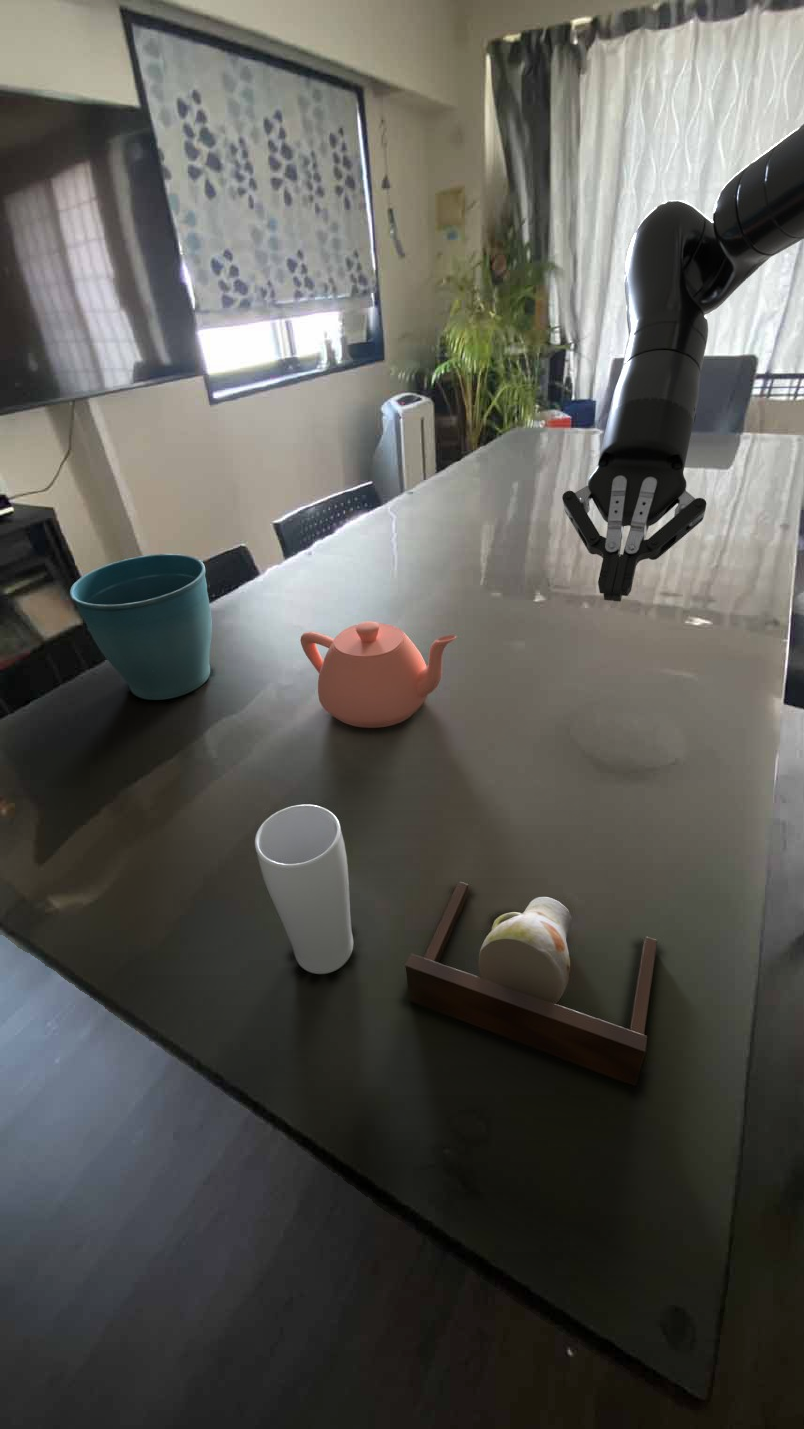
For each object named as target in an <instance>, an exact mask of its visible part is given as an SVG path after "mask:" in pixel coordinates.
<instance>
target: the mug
mask: <svg viewBox="0 0 804 1429" xmlns="http://www.w3.org/2000/svg"><path fill="white" fill-rule="evenodd" d="M571 927H572V917H571V913H570V911H569V909H568V908H567V907H566V906H565V905H564V904H562V903H561V902H560V901H559V900H557V899H554V898H552V897H548V896H538V897H535V898H534V899H532V900H531V901H530V902H529V904H528V905H527V907H526V908H525V910H524V911H523V912H516V911H512V912H506V913H504V914H500V915H499V916H498V917H497V918H496V919H494V921H493V923H492V926H491V930H490V932H489V933H487V934H488V935H486V937H485V938H484V940H483V943H482V945H481V947H480V950H479V954H478V972H479V975H480V978H483V979H486V980H488V981H491V982H494V983H497V984H500V985H503V986H505V987H508V988H511V989H514V990H517V991H520V992H523V993H525V994H528V995H531V996H534V997H537V998H540V999H543V1000H545V1001H548V1002H551V1003H554V1004H558V1002H560V1000H561V998H562V996H563V994H564V993H565V991H566V989H567V987H568V984H569V980H570V974H571V958H570V952H569V948H568V943H567V936H568V934H569V932H570V929H571Z"/></svg>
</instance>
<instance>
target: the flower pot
mask: <svg viewBox="0 0 804 1429" xmlns="http://www.w3.org/2000/svg"><path fill="white" fill-rule="evenodd" d="M206 572H207V571H206V567H205V564H204V563H203V561H202V560H200V559H199V558H197V557H195V556H191V555H186V554H179V553H159V554H147V555H142V556H135V557H131V558H125V559H122V560H118V561H114V562H111V563H109V564H106V565H103V566H101V567H98V568H95V569H94V570H91V571H89V572H88V573H86V574H84V575H83V576H81V577H80V578H79V579H76V581H75V582H74V583H73V584H72V586H70V587H71V588H70V590H69V596H70V599H71V600H72V601H73V603H74V604H75V605H76V607H77V609H78V611H79V614H80V615H81V617H82V618H83V620H84V622H85V625H86V626H87V629H88V631H89V633H90V635H91V637H92V638H93V641H94V643H95V644H96V646H97V647H98V649H99V650H100V652H101V653H102V655H103V656H104V657H105V659H106V660H107V661H108V662H109V663H110V664H111V666H112V667H113V668H114V669H115V670H116V671H117V672H118V674H120V676H121V677H122V678H123V680H124V681H125V682H126V683H127V685H128V686H129V690H130V692H131V693H132V694H133V695H134V696H136V697H137V698H140V699H143V700H149V701H161V700H170V699H174V698H178V697H181V696H184V695H186V694H189V693H192V692H193V691H195V690H197V689H198V688H200V687H201V686H202V685H204V684H205V682H207V680H208V679H209V677H210V675H211V667H210V652H211V642H212V633H213V632H212V631H213V622H212V611H211V604H210V598H209V593H208V584H207V579H206Z"/></svg>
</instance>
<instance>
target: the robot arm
mask: <svg viewBox="0 0 804 1429" xmlns="http://www.w3.org/2000/svg"><path fill="white" fill-rule="evenodd" d="M712 213H713V214H712V219H710V218H709V217H708V216H706V215H705V214H703V213H702V212H701V211H700V210H699V209H697V208H696V207H695V206H693V205H692V204H691V203H689V202H686V201H684V200H680V199H679V200H678V199H674V200H673V199H672V200H669V201H665V202H662V203H661V204H660V205H658V206H656V207H654V209H652V210H651V211H650V212H649V213H648V214H647V215H646V216H645V217H644V219H643V220H642V221H641V223H640V225H639V226H638V228H637V229H636V231H635V233H634V234H633V237H632V239H631V242H630V245H629V248H628V251H627V255H626V260H625V268H624V293H625V294H624V295H625V309H626V323H627V331H628V339H627V343H626V348H625V351H624V356H623V361H622V365H621V370H620V374H619V377H618V380H617V383H616V385H615V388H614V391H613V395H612V399H611V403H610V407H609V412H608V416H607V421H606V426H605V430H604V435H603V439H602V442H601V443H602V444H601V449H600V453H599V458H598V462H597V465H596V468H595V470H594V471H593V473H592V474H591V475H590V476H589V478H588V481H587V485H585V486H584V487H582V488H580V489H578V490H576V491H573V490H566V491H564V493H563V494H562V498H561V499H562V503H563V508H564V513H565V514H566V516H567V518H568V520H569V521H570V523H571V525H572V526H573V528H574V530H575V531H576V533H577V534H578V536H579V538H580V540H581V541H582V543H583V545H584V547H585V548H586V550H587V552H588V553H589V554H590V555H597V556H599V557H601V558H602V562H601V566H600V571H599V576H598V581H597V584H598V585H597V586H598V590H599V594H603V600H604V601H610V602H622V598H623V597H629V595H630V593H631V592H632V587H633V583H634V578H635V574H636V568H637V565H638V564H639V562H641V561H643V560H650V561H656V560H658V559H659V558H660V557H661V556H663V555H664V554H665V553H666V552H667V551H668V550H670V549H671V548H672V547H674V546H675V544H677V543H678V542H679V541H680V540H682V539H683V538H685V536H686V535H687V534H689V533H690V532H691V531H692V530H693V529H694V528H695V527H696V526H698V525H699V524H700V523H702V521H703V520H704V518H705V514H706V509H707V501H706V499H705V498H703V497H696V498H695V497H694V496H693V495H691V494H690V493H689V492H688V491H687V480H686V478H685V475H684V471H685V470H684V469H685V466H686V461H687V456H688V452H689V446H690V441H691V436H692V432H693V428H694V424H695V421H696V418H697V415H696V411H697V407H698V402H699V394H700V378H701V373H702V368H703V363H704V358H705V354H706V349H707V343H708V337H709V323H708V319H707V316H706V315H707V314H710V313H712V312H713V311H715V310H716V309H718V308H719V307H720V306H722V305H723V304H724V303H725V302H726V300H728V299H729V297H730V296H731V295H733V293H734V292H735V291H736V290H737V289H739V287H740V286H741V285H742V284H743V283H745V281H747V279H749V278H750V277H751V276H752V275H753V274H755V273H756V272H757V271H758V269H760V268H761V267H762V266H763V265H764V264H765V263H766V262H767V261H768V260H770V259H771V258H772V257H774V256H776V255H779V254H780V253H781V252H783V251H785V250H787V249H788V248H790V247H791V246H793V245H795V244H797V243H799V242H801V241H802V240H804V123H803V124H802V125H800V126H799V127H798V128H796V129H795V130H793V131H792V132H790V133H789V134H788V135H786V136H785V137H784V138H782V139H780V141H779V142H777V143H775V144H774V145H773V146H771V147H770V148H769V149H768V150H766V151H765V152H763V154H761V155H760V156H758V157H756V158H755V160H753V161H751V163H749V164H748V165H746V166H745V167H744V168H742V169H741V170H739V172H737V173H736V174H735V175H733V177H732V178H731V179H729V181H728V182H727V183H726V184H725V185H724V186H723V188H722V189H721V191H720V193H719V195H718V197H717V199H716V201H715V204H714V208H713V212H712ZM591 500H592V501H593V504H594V505H595V507H596V509H597V510H598V512H599V514H600V515H601V518H602V519H603V520H604V521H605V522H606V524H607V525H606V526H607V527H606V535H605V536H603V535H601V534H600V532H599V531H598V528H596V526H595V524H594V523H593V522H594V521H593V520H592V519H591V517H590V516H589V513H590V510H591V506H590V501H591ZM675 506H676V507H675ZM674 507H675V509H674V513H673V514H674V516H673V517H672V518H671V519H670V520H669V521H667V522H666V523H665V524H664V525H662V526H661V528H659V529H658V530H657V531H656V532H655V533H653V534H652V535H651V536H649V538H648V539H646V538H647V535H648V531H649V527H651V526H653V525H655V524H657V522H659V521H660V520H662V518H663V517H664V516H665V515H667V513H669V512H670V511H671V510H672V509H673V508H674ZM628 526H629V531H628V534H627V538H626V541H625V544H624V548H623V552H622V554H621V550H622V543H623V542H622V541H623V537H624V531H625V530H624V529H625V527H628Z"/></svg>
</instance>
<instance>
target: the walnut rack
mask: <svg viewBox="0 0 804 1429" xmlns="http://www.w3.org/2000/svg"><path fill="white" fill-rule="evenodd" d="M468 896H469V884H468V883H465V882H462V881H457V884H456V886H455V888H454V890H453V893H452V895H451V897H450V899H449V901H448V903H447V905H446V908H445V910H444V912H443V914H442V917H441V918H440V921H439V923H438V925H437V926H436V927H437V928H436V929H435V932H434V933H433V936H432V938H431V941H430V942H429V945H428V947H427V949H426V951H425V953H424V955H423V957H422V956H420V955H417V954H414V953H410V955H409V957H408V959H407V961H406V963H405V965H404V966H405V975H406V983H407V992H408V1000H409V1001H410V1002H412V1003H415V1004H417V1005H420V1006H422V1007H425V1008H427V1009H430V1010H433V1011H436V1012H438V1013H441V1014H444V1015H446V1016H448V1017H451V1018H455V1019H457V1020H460V1021H462V1022H464V1023H467V1024H469V1025H473V1026H475V1027H477V1028H480V1029H483V1030H485V1031H488V1032H491V1033H493V1034H496V1035H498V1036H502V1037H504V1038H506V1039H509V1040H511V1041H514V1042H517V1043H519V1044H522V1045H525V1046H527V1047H530V1048H533V1049H536V1050H538V1051H540V1052H543V1053H545V1054H549V1055H551V1056H554V1057H557V1058H559V1059H562V1060H564V1061H566V1062H567V1061H568V1062H570V1063H572V1064H575V1065H578V1066H580V1067H583V1068H586V1069H588V1070H591V1071H593V1072H596V1073H598V1074H601V1075H603V1076H607V1077H608V1078H611V1079H614V1080H617V1081H620V1082H622V1083H625V1084H627V1085H630V1086H632V1087H636V1086H637V1082H638V1079H639V1075H640V1072H641V1068H642V1065H643V1061H644V1058H645V1054H646V1051H647V1044H648V1042H647V1041H648V1036H647V1035H645V1030H646V1024H647V1016H648V1010H649V1003H650V996H651V989H652V982H653V975H654V969H655V961H656V954H657V946H658V939H656V938H651V937H648V936H645V937H644V939H643V944H642V950H641V956H640V961H639V968H638V974H637V981H636V987H635V993H634V999H633V1005H632V1010H631V1017H630V1022H629V1023H630V1024H629V1028H625V1027H623V1026H619V1025H617V1024H615V1023H611V1022H608V1021H606V1020H602V1019H600V1018H596V1017H594V1016H591V1015H588V1014H585V1013H584V1012H579V1011H576V1010H574V1009H571V1008H568V1007H565V1006H562V1005H559V1004H558V1003H556V1004H554V1003H551V1002H548V1001H545V1000H543V999H540V998H537V997H534V996H531V995H528V994H525V993H523V992H520V991H517V990H514V989H511V988H508V987H505V986H503V985H500V984H497V983H494V982H491V981H488V980H486V979H483V978H482V977H481V976H480V977H479V976H478V975H474V974H472V973H469V972H466V971H462V970H460V969H456V968H454V967H451V966H448V965H444V964H443V963H440V960H441V957H442V956H443V953H444V950H445V949H446V947H447V944H448V942H449V939H450V938H451V935H452V933H453V930H454V928H455V926H456V924H457V921H458V919H459V917H460V914H461V912H462V910H463V907H464V905H465V903H466V900H467V898H468Z"/></svg>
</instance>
